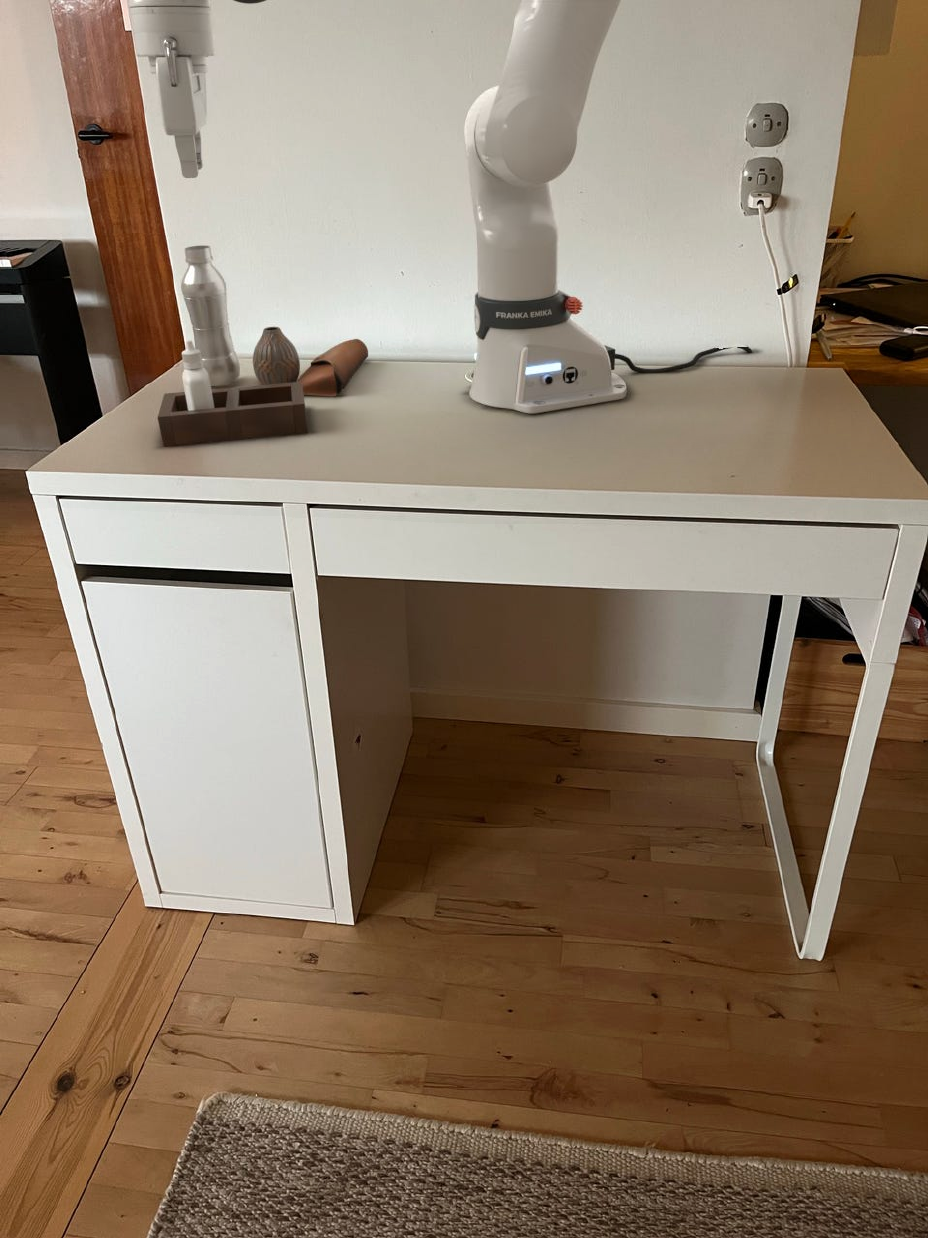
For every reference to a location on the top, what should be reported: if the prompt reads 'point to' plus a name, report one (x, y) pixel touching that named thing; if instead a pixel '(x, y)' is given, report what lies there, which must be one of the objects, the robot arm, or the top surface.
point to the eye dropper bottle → (196, 380)
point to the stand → (234, 414)
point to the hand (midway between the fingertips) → (193, 173)
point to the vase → (275, 358)
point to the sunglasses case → (333, 369)
